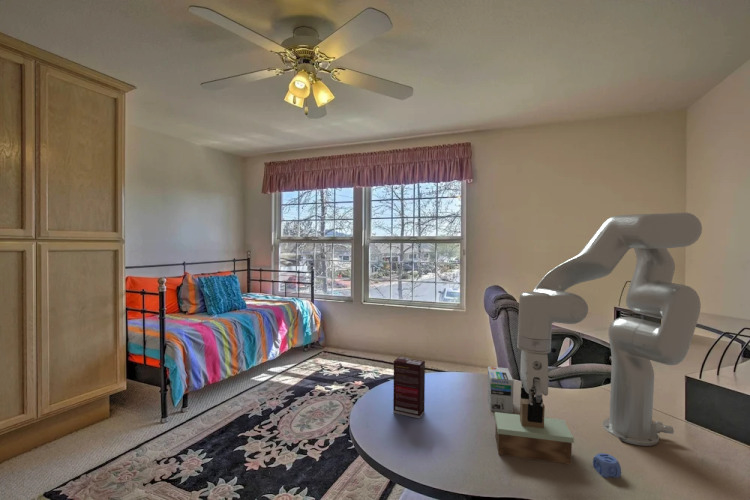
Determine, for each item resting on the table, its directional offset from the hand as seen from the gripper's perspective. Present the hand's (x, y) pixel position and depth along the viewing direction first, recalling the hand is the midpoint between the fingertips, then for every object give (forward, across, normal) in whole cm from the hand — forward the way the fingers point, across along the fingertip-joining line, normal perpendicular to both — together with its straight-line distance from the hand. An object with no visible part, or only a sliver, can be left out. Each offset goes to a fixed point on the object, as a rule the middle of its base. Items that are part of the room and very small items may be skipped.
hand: (530, 412), depth 91 cm
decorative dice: (+10, -5, -16) cm, 19 cm away
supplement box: (+11, +13, +32) cm, 36 cm away
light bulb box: (+10, +24, +4) cm, 27 cm away
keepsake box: (+10, 0, 0) cm, 10 cm away
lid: (+4, 0, 0) cm, 4 cm away
